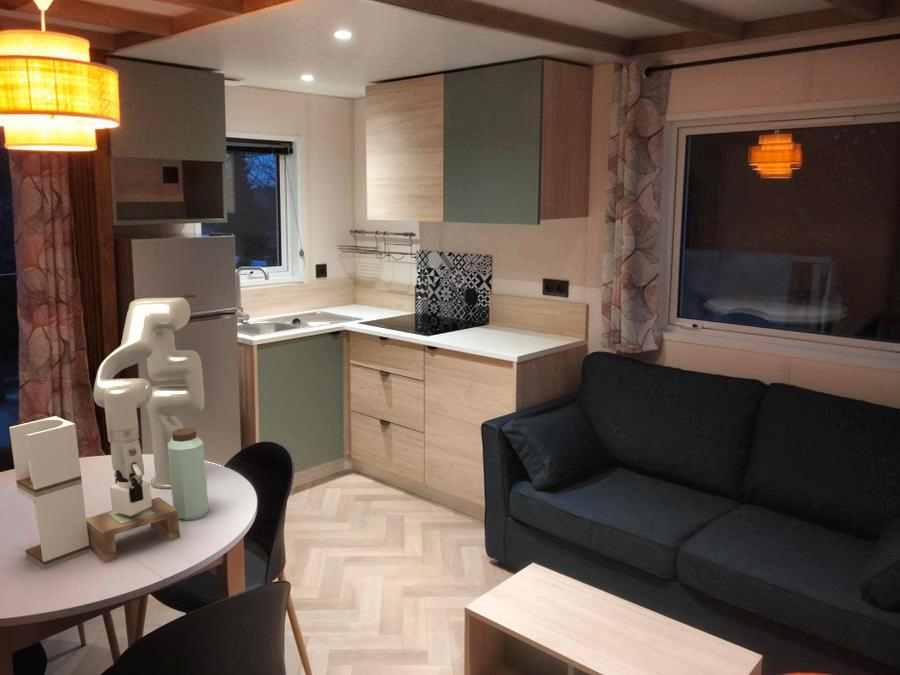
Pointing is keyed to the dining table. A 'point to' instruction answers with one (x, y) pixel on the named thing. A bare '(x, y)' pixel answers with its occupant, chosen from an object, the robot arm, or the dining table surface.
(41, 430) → the white tower
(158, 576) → the dining table surface
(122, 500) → the medicine bottle
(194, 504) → the water bottle
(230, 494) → the dining table surface
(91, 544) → the bench shelf
